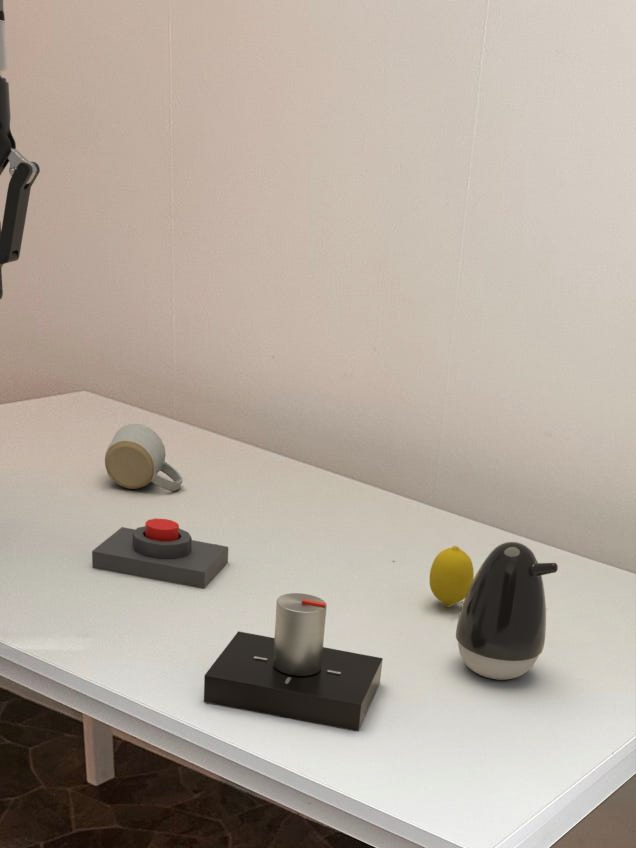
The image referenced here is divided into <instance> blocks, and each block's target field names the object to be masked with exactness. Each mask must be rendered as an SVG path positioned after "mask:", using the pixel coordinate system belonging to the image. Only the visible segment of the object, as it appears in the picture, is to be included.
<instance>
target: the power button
mask: <svg viewBox="0 0 636 848" xmlns="http://www.w3.org/2000/svg"><path fill="white" fill-rule="evenodd" d="M144 524H145V525H144V526H145V537H146V538H149V539H151V540H156V541H174V540H178V539H179V528H180V525H179V523H178V522H177V521H174V520H171V519H167V518H152V519H148V520H146V521H145V523H144Z"/></svg>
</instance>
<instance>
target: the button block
mask: <svg viewBox="0 0 636 848" xmlns="http://www.w3.org/2000/svg"><path fill="white" fill-rule="evenodd" d="M91 562H92V563H91V564H92V565H91V566H92V569H95V570H102V571H106V572H107V571H108V572H112V573H116V574H117V573H118V574H123V575H129V576H133V577H139V578H144V579H150V580H155V581H161V582H167V583H171V584H175V585H182V586H187V587H193V588H198V589H206V588H207V586H209V584H210V583H211V582H212V581H213V580H214V579H215V577H216V576H218V574H220V572H221V571H222V570H223V569H224V568H225V567H226V566H227V565H228V563H229V546H226V545H220V544H215V543H210V542H204V541H200V540H194V539H192V535H191V534H190V532H188V531H187V530H184V529H182V528H180V527H179V539H178V540H174V541H156V540H151V539H149V538H146V537H145V525H144V526H140V527H139V526H138V527H137V528H134V529H133V528H129V527H123V526H122V527H120V528H119V529H118V530H117V531H115V532H114V533H112V535H110V536H109V537H108V538H106V539H105V540H104V541H102V542H101V543H100V544H98V546H97V547H95V548H94V549H93V550H92V551H91Z"/></svg>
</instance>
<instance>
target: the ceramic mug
mask: <svg viewBox="0 0 636 848" xmlns="http://www.w3.org/2000/svg"><path fill="white" fill-rule="evenodd" d="M104 466H105V470H106V472H107V474H108V476H109V477H110V479H111V480H112V481H113V482H114V483H115V484H117V485H118V486H120V487H122V488H124V489H129V490H139V489H142V488H144V487H145V486H147V485H149V484H150V483H152V484H153V485H155V486H158V487H159V488H162V489H163V490H166V491H170V492H176V491H178V490H179V489H180V487H181V485H182V483H183V481H184V478H183V476H182V474H181V473H180V472H179V471H178V470H177V469H176V468H175V467H173V466H172V465H171V464H170V463H168V462H166V448H165V445H164V442H163V440H162V438H161V437H160V436H159V435H158V433H156V431H155V430H154V429H152V428H150V427H149V426H147V425H144V424H140V423H128V424H125V425H123V426H121V427H119V428H118V430H117V431H116V433H115V434H114V435H113V438H112V439H111V442H110V443H109V445H108V446H107V449H106V452H105V456H104ZM159 472H162V473H163V474H165V475H166V476H167V477H169V478H170V479H167V478H165V477H164V476H162V475H160V474H159Z"/></svg>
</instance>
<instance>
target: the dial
mask: <svg viewBox="0 0 636 848" xmlns="http://www.w3.org/2000/svg"><path fill="white" fill-rule="evenodd" d="M327 606H328V605H327V603H326V601H325V600H324V599H322V598H320V597H318V596H315V595H313V594H307V593H297V592H293V593H292V592H291V593H285V594H282V595H280V596H278V598H277V599H276V605H275V622H274V623H275V624H274V637H273V638H274V654H273V665H274V667H275V668H276V669H277V670H278V671H280V672H282V673H285V674H289V675H294V676H309V675H313V674H316V673H318V672H319V671H320V670H321V666H322V654H323V647H324V641H325V629H326V617H327Z"/></svg>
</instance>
